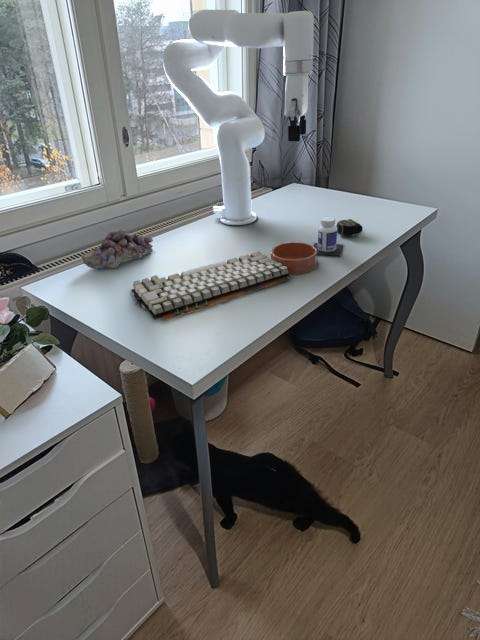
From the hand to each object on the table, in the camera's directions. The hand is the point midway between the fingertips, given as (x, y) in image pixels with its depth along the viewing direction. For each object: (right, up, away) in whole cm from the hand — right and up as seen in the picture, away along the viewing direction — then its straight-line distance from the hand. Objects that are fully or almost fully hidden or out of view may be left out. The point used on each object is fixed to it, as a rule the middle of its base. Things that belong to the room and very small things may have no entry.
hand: (297, 137), depth 127 cm
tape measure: (+18, -25, +12) cm, 33 cm away
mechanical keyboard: (-23, -43, -13) cm, 51 cm away
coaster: (+9, -31, +2) cm, 33 cm away
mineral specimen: (-51, -34, +4) cm, 61 cm away
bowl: (-1, -36, -5) cm, 37 cm away
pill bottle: (+9, -31, +2) cm, 32 cm away
